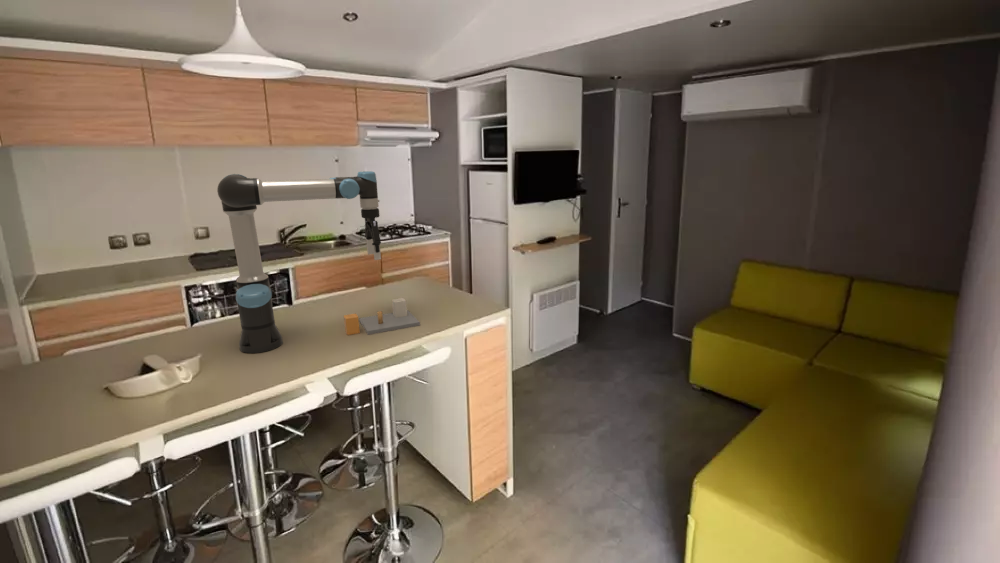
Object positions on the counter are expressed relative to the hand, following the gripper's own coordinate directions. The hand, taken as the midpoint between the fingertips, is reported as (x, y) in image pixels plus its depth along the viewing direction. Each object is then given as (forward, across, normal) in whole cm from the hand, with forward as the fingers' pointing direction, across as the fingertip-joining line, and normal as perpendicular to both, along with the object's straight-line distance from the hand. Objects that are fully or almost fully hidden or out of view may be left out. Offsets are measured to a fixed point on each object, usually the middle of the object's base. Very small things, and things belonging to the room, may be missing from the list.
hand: (374, 256), depth 213 cm
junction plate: (+27, -13, -1) cm, 30 cm away
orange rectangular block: (+27, -16, +15) cm, 35 cm away
